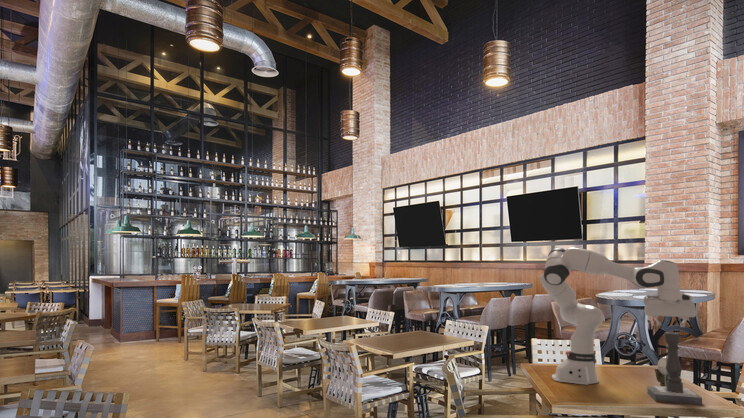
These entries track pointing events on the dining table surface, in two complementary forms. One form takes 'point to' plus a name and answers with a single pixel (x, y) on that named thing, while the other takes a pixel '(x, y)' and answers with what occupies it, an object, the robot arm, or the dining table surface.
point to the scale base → (666, 398)
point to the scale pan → (663, 391)
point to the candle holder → (673, 363)
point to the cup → (660, 377)
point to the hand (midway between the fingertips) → (670, 326)
